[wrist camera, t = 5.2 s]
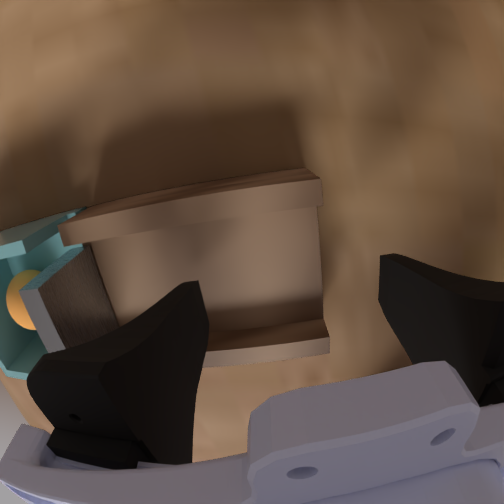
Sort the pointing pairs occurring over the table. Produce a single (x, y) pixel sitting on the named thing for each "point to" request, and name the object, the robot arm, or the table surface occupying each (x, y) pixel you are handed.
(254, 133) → the table surface
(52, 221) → the teal open box
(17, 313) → the ball
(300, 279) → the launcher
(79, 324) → the plunger
